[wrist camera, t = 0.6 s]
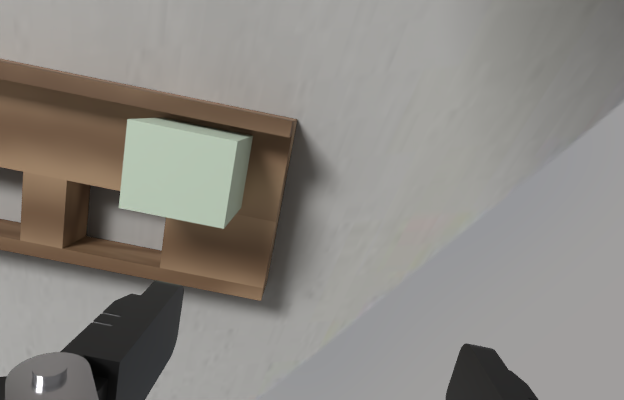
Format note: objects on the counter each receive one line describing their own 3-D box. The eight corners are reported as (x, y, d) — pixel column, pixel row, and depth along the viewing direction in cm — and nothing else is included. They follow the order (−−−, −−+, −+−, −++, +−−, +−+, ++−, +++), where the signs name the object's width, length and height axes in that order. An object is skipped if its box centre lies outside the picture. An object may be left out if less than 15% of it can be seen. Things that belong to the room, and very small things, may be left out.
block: (163, 117, 27) (127, 118, 22) (253, 135, 27) (237, 141, 22) (154, 190, 28) (118, 208, 23) (240, 208, 28) (223, 228, 23)
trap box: (-103, 37, 29) (-211, 19, 23) (297, 119, 29) (291, 121, 24) (-99, 211, 32) (-194, 234, 26) (266, 283, 32) (253, 322, 26)
